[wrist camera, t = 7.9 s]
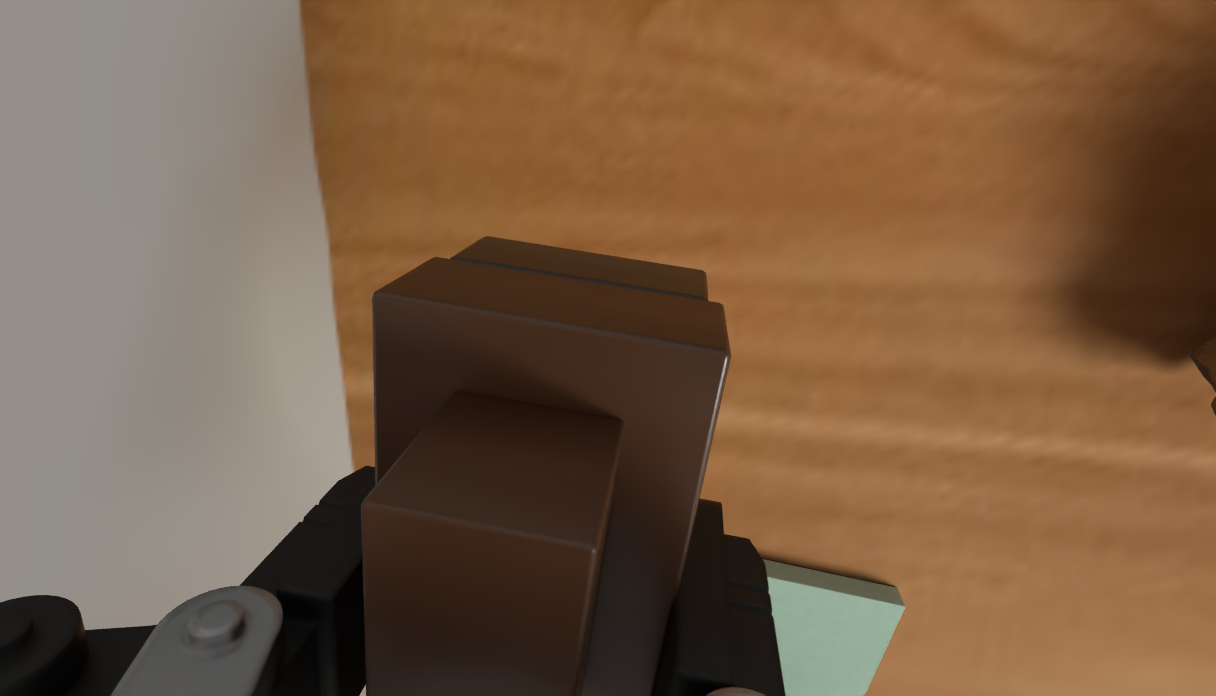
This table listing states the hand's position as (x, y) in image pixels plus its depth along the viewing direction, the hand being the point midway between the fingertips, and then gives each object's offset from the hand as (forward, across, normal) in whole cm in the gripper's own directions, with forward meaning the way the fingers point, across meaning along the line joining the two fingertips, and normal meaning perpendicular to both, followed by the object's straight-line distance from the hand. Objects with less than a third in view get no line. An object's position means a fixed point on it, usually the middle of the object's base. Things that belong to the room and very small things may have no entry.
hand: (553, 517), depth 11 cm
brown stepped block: (+1, 0, 0) cm, 1 cm away
